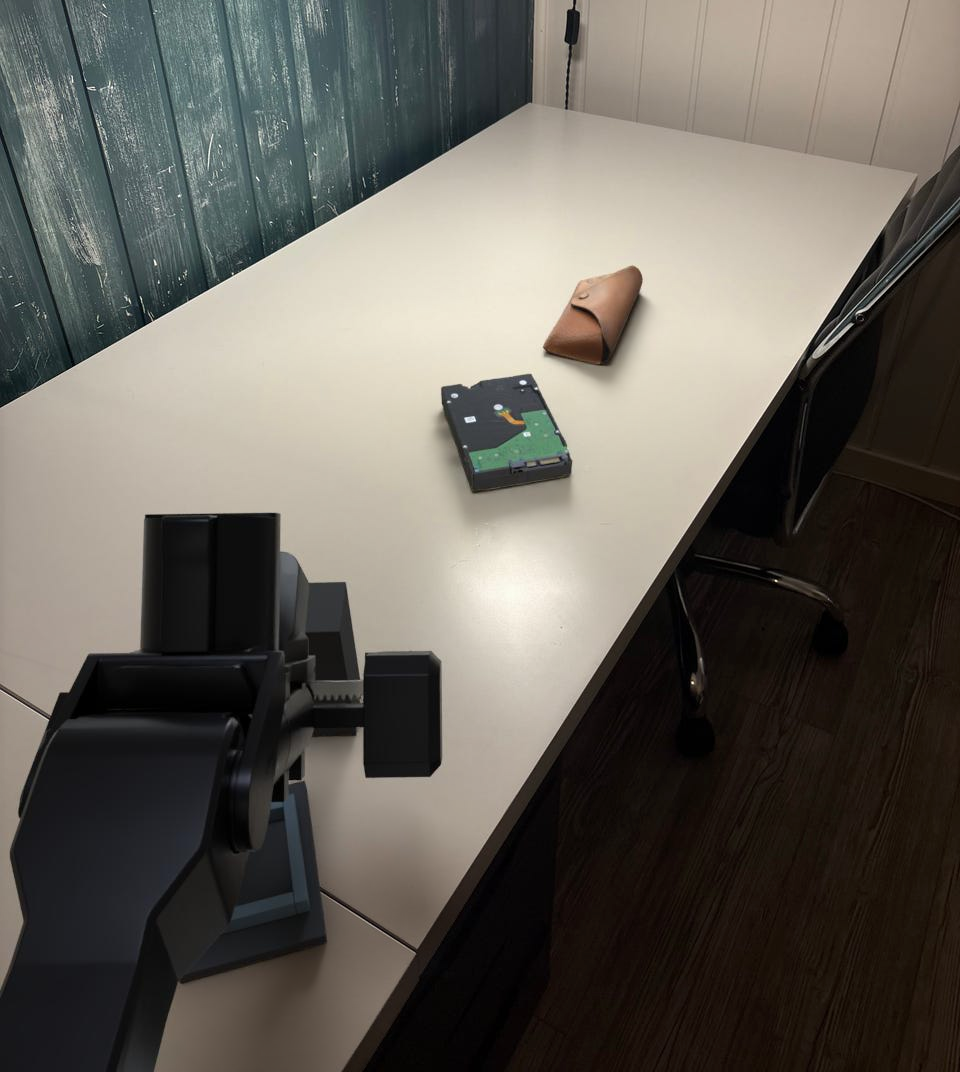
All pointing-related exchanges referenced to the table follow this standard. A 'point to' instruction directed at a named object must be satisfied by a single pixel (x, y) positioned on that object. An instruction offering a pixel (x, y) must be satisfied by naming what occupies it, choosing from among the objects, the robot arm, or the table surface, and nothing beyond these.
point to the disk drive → (505, 432)
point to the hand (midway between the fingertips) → (295, 691)
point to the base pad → (273, 895)
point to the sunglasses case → (595, 317)
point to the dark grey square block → (331, 642)
